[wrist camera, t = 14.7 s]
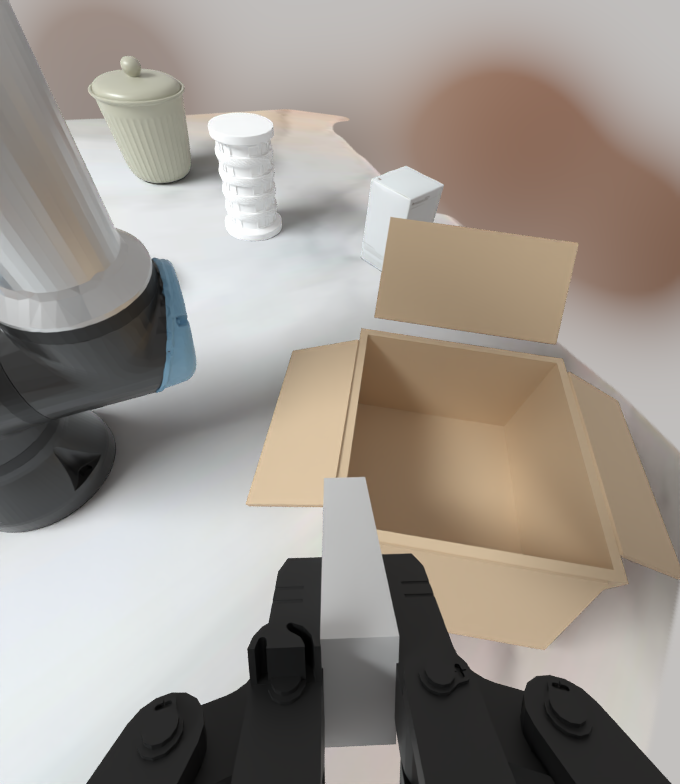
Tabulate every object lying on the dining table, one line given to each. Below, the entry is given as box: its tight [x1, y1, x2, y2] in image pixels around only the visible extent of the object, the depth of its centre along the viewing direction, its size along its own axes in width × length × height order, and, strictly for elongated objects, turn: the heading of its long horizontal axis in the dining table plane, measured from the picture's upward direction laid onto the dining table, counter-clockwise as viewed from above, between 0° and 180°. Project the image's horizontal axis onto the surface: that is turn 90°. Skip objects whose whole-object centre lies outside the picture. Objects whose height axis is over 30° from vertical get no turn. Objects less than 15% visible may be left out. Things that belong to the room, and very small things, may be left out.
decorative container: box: [208, 113, 282, 241], centre depth 69 cm, size 12×12×18 cm
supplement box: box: [361, 166, 444, 271], centre depth 66 cm, size 9×9×15 cm
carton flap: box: [374, 217, 578, 344], centre depth 39 cm, size 1×20×10 cm
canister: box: [88, 56, 191, 183], centre depth 78 cm, size 18×18×21 cm
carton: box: [246, 328, 680, 650], centre depth 38 cm, size 26×37×14 cm
